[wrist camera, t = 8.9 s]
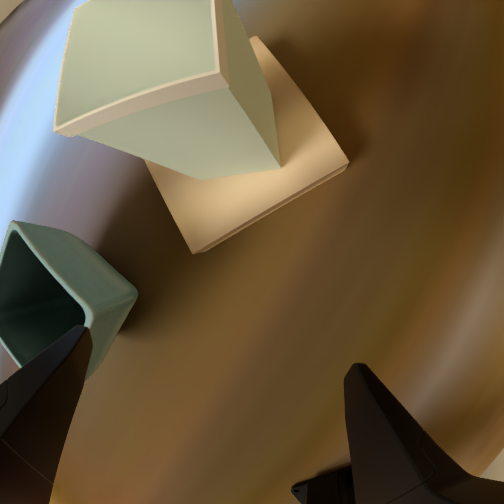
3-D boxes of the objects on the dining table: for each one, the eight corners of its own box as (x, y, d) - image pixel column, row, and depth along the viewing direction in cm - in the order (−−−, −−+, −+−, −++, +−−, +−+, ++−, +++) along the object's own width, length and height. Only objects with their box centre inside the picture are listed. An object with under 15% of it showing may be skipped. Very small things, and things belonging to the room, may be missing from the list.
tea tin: (283, 169, 18) (220, 72, 6) (199, 182, 19) (53, 132, 7) (272, 91, 18) (210, -50, 6) (193, 107, 19) (74, 8, 7)
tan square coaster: (344, 171, 20) (349, 162, 17) (207, 251, 22) (192, 254, 19) (262, 56, 20) (256, 35, 18) (144, 131, 23) (125, 120, 20)
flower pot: (93, 218, 23) (9, 216, 14) (170, 284, 22) (95, 314, 13) (57, 299, 25) (-16, 319, 16) (123, 364, 24) (55, 410, 15)
